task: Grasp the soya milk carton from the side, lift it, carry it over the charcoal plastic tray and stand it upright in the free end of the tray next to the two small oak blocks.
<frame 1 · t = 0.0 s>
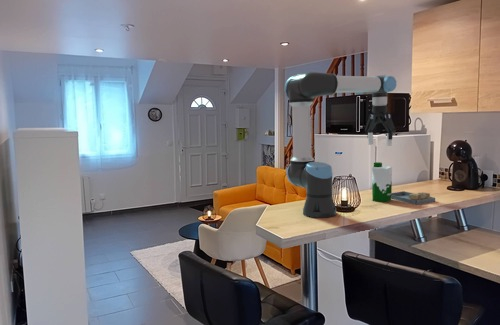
hand: (379, 145, 205), 28 cm above the breakfast bar, fingers open, 13 cm apart
soya milk: (381, 201, 195), on the breakfast bar
oak block b: (414, 202, 189), point 1 cm above the breakfast bar, touching tray
oak block a: (423, 201, 190), point 1 cm above the breakfast bar, touching tray
tray: (409, 200, 195), on the breakfast bar
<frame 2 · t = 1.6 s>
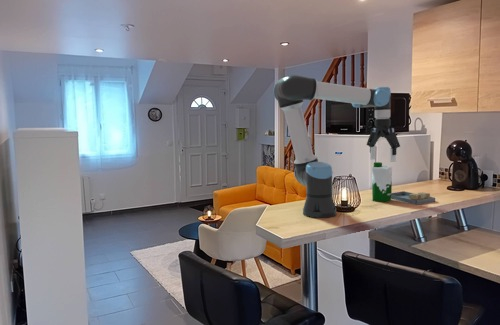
hand: (382, 160, 193), 21 cm above the breakfast bar, fingers open, 13 cm apart
nothing on the breakfast bar moved.
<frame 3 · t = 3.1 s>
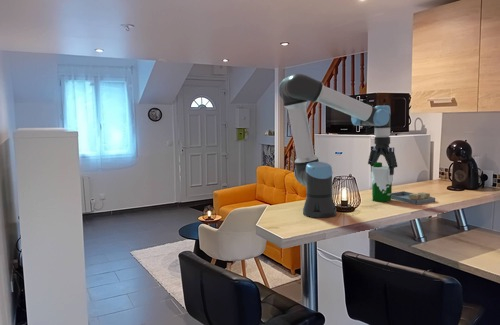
hand: (381, 179, 194), 11 cm above the breakfast bar, fingers closed on soya milk, 10 cm apart
soya milk: (381, 201, 195), on the breakfast bar, touching gripper
everything else where it was.
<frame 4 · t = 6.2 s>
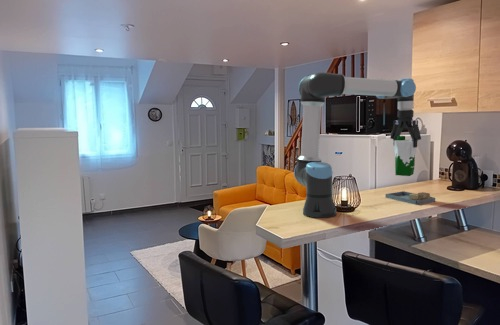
hand: (404, 153, 196), 24 cm above the breakfast bar, fingers closed on soya milk, 10 cm apart
soya milk: (404, 175, 197), point 13 cm above the breakfast bar, touching gripper
everything else where it was.
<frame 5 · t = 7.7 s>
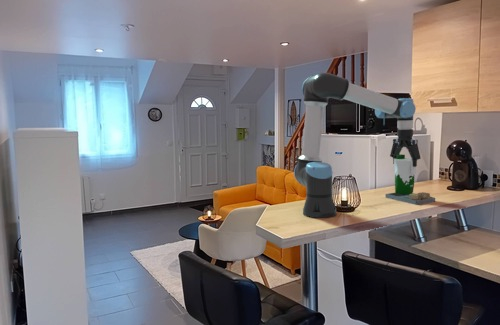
hand: (404, 171, 197), 15 cm above the breakfast bar, fingers closed on soya milk, 10 cm apart
soya milk: (404, 193, 198), point 3 cm above the breakfast bar, touching gripper
everything else where it was.
when the fingers open (14 cm above the breakfast bar, at t = 8.9 s): soya milk drops 2 cm, resting on tray.
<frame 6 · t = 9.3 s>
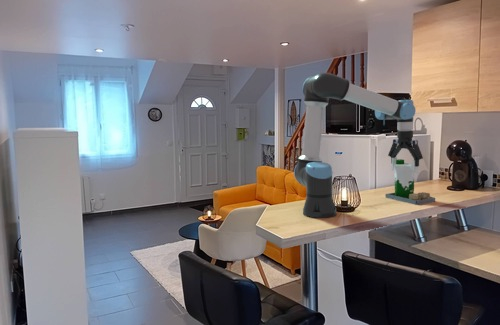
hand: (404, 171, 197), 15 cm above the breakfast bar, fingers open, 13 cm apart
soya milk: (404, 198, 198), point 1 cm above the breakfast bar, touching tray
everything else where it was.
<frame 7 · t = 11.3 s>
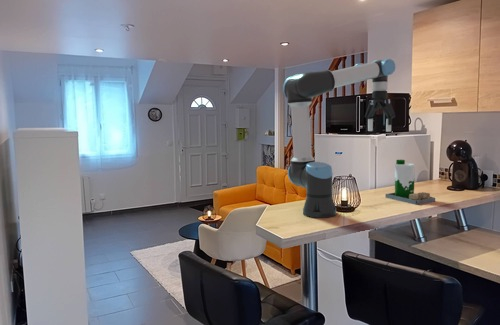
hand: (379, 131, 201), 36 cm above the breakfast bar, fingers open, 13 cm apart
nothing on the breakfast bar moved.
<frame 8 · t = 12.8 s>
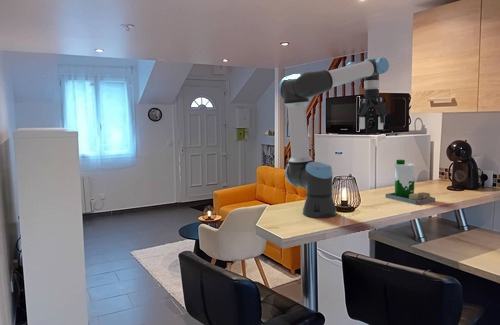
hand: (371, 129, 203), 37 cm above the breakfast bar, fingers open, 13 cm apart
nothing on the breakfast bar moved.
at the end: soya milk inside the target area on the tray (0.3 cm from its centre), point 0.4 cm above the tray's base; soya milk tilted 0°; the gripper is holding nothing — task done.
